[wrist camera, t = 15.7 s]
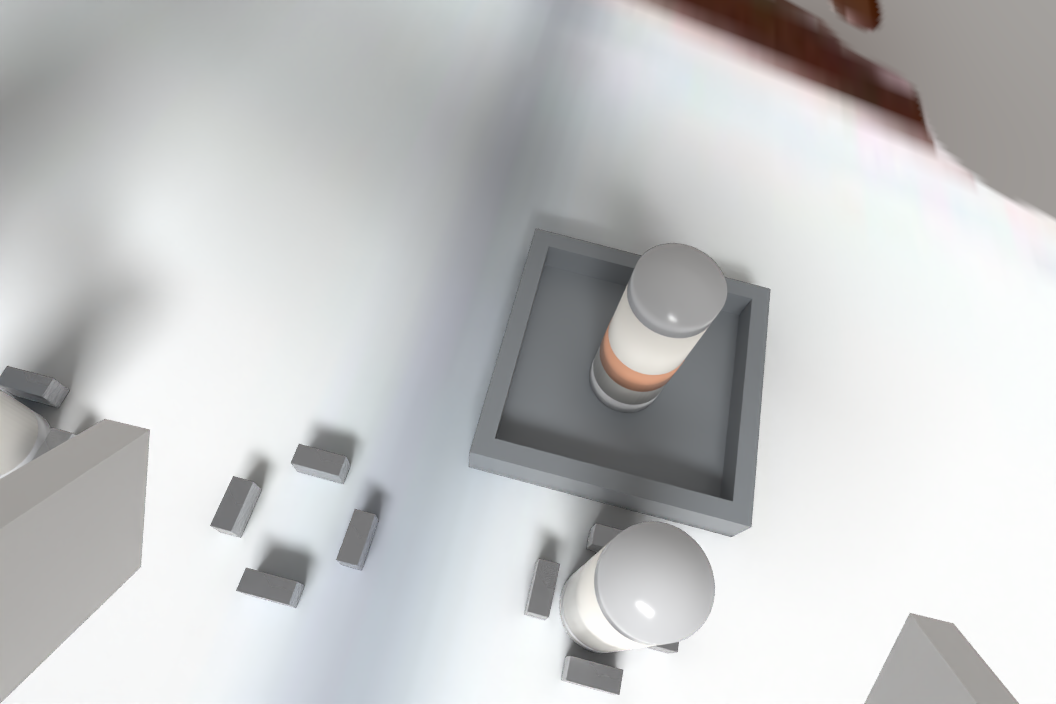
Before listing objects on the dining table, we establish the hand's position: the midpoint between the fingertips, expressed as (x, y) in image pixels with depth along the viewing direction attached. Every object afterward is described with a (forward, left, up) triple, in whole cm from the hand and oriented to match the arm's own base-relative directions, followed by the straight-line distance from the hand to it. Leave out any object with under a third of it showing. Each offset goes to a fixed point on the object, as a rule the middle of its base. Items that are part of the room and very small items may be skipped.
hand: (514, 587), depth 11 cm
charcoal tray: (+4, +15, -21) cm, 26 cm away
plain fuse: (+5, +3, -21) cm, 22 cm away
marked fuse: (+4, +15, -21) cm, 26 cm away
